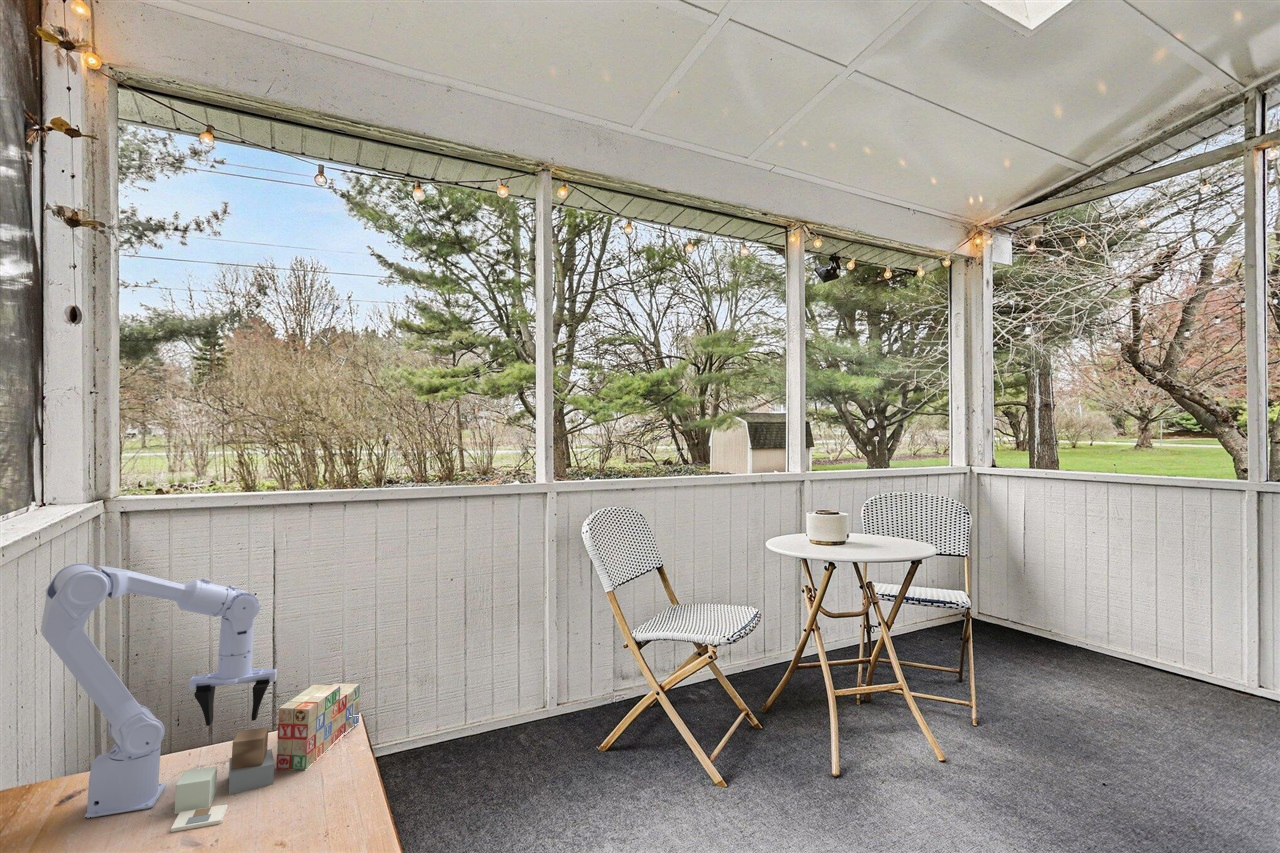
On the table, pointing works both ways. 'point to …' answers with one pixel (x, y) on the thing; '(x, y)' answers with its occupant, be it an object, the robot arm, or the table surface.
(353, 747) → the table surface
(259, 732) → the walnut block
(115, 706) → the robot arm
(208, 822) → the card
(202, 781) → the sage block
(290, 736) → the stack of blocks
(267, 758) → the slate block
